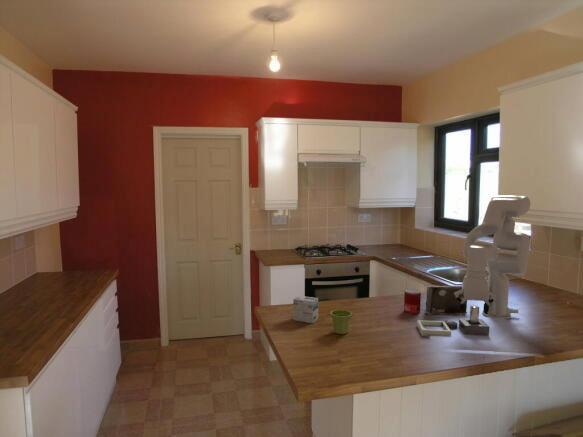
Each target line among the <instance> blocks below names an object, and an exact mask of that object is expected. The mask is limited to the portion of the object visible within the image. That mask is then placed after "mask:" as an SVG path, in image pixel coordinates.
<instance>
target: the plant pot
mask: <svg viewBox="0 0 583 437" xmlns="http://www.w3.org/2000/svg"><path fill="white" fill-rule="evenodd" d="M330 315H331V318H332V326H333V333H336V334H340V335H345V334H347V333H349V326H350V320H351V318H352V317H351V316H352V315H353V313H352V312H351V311H349V310H345V309H335V310H331V311H330Z"/></svg>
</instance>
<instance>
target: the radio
mask: <svg viewBox="0 0 583 437" xmlns="http://www.w3.org/2000/svg"><path fill="white" fill-rule="evenodd" d="M426 288H427V289H426V300H425V310H424V311H423V312H424V313H425V314H428V315H431V316H433V315H434V316H460V315H462V314H468V312H467V309H468V306H467V305H468V300H466V301H465V302H464V304H465V308H464V313H462V312H461V310H460V302H459V301H458V300H457V299H456V297H455V295H454V292H457V291H459V290H462V285H427V287H426ZM458 296H459V298H460V299H461V298H462V296H461V294H459V295H458Z"/></svg>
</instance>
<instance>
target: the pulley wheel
mask: <svg viewBox="0 0 583 437" xmlns="http://www.w3.org/2000/svg"><path fill="white" fill-rule="evenodd" d="M443 321H444V322H445V323H446V325H447V326H448V327H449V329H450V330H455V329H457V328H458V327H459V323H458V322H456V321H453V320H446V319H445V320H443ZM440 327H442V328H443V323H441V326H440Z"/></svg>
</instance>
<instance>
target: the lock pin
mask: <svg viewBox="0 0 583 437" xmlns="http://www.w3.org/2000/svg"><path fill="white" fill-rule="evenodd" d="M469 319H470V320H469V324H477V325H478V321H479V319H480V307H479V306H477V305H470V307H469Z"/></svg>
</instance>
